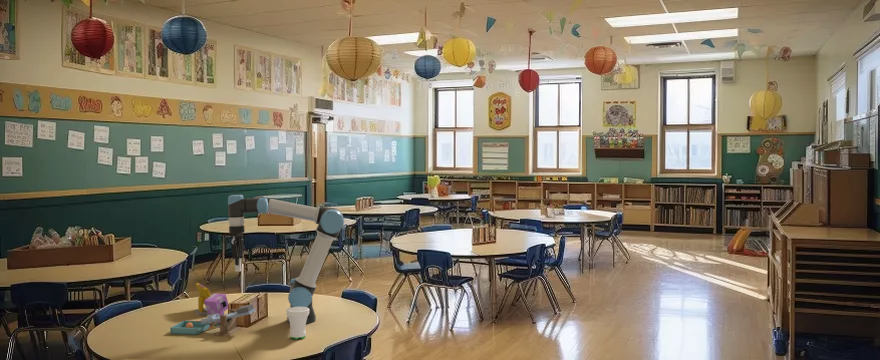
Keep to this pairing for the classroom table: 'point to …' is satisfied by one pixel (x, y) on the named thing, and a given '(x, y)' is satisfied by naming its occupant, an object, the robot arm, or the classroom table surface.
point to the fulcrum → (227, 325)
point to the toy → (216, 304)
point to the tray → (182, 329)
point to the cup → (297, 321)
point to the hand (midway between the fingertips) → (238, 271)
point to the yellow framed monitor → (202, 299)
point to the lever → (240, 312)
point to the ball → (189, 325)
